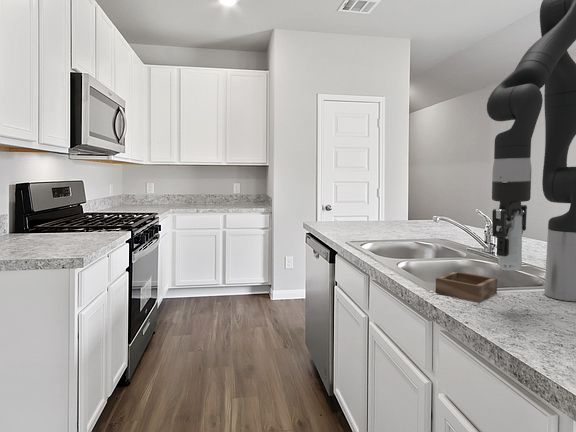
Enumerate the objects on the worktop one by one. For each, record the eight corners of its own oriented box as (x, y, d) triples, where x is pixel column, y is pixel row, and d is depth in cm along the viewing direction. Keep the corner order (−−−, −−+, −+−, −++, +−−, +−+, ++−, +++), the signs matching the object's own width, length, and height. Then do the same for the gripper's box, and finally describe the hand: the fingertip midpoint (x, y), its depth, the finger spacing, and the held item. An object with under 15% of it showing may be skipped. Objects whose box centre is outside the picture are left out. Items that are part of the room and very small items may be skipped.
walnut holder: (454, 284, 115) (455, 271, 115) (496, 293, 107) (497, 278, 106) (435, 292, 108) (435, 278, 107) (478, 302, 99) (479, 286, 99)
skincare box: (522, 271, 87) (524, 216, 86) (499, 270, 89) (500, 215, 87) (518, 265, 93) (519, 213, 91) (496, 263, 94) (497, 212, 93)
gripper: (505, 178, 96) (503, 246, 98) (480, 180, 87) (478, 255, 88) (540, 178, 91) (538, 250, 92) (518, 180, 81) (515, 260, 83)
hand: (508, 252), depth 90 cm, fingers closed on skincare box, 7 cm apart
